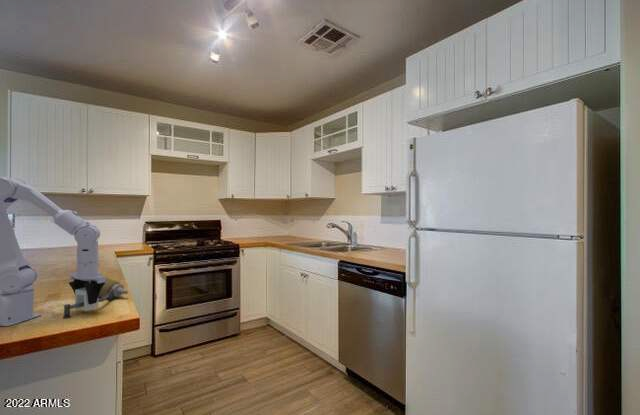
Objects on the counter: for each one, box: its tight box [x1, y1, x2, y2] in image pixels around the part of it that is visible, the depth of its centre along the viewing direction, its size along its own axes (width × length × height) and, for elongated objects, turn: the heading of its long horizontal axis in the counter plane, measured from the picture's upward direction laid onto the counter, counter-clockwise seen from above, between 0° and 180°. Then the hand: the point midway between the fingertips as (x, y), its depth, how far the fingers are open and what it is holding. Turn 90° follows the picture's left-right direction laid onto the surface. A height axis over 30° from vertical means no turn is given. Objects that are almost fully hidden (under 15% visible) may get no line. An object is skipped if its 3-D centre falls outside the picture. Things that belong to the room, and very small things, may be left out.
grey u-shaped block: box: [74, 288, 99, 312], centre depth 102 cm, size 4×5×6 cm
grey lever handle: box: [62, 289, 114, 319], centre depth 106 cm, size 20×6×4 cm, turn 171°
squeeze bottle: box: [89, 276, 129, 299], centre depth 119 cm, size 8×8×18 cm
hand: (86, 302), depth 102 cm, fingers closed on grey u-shaped block, 5 cm apart
